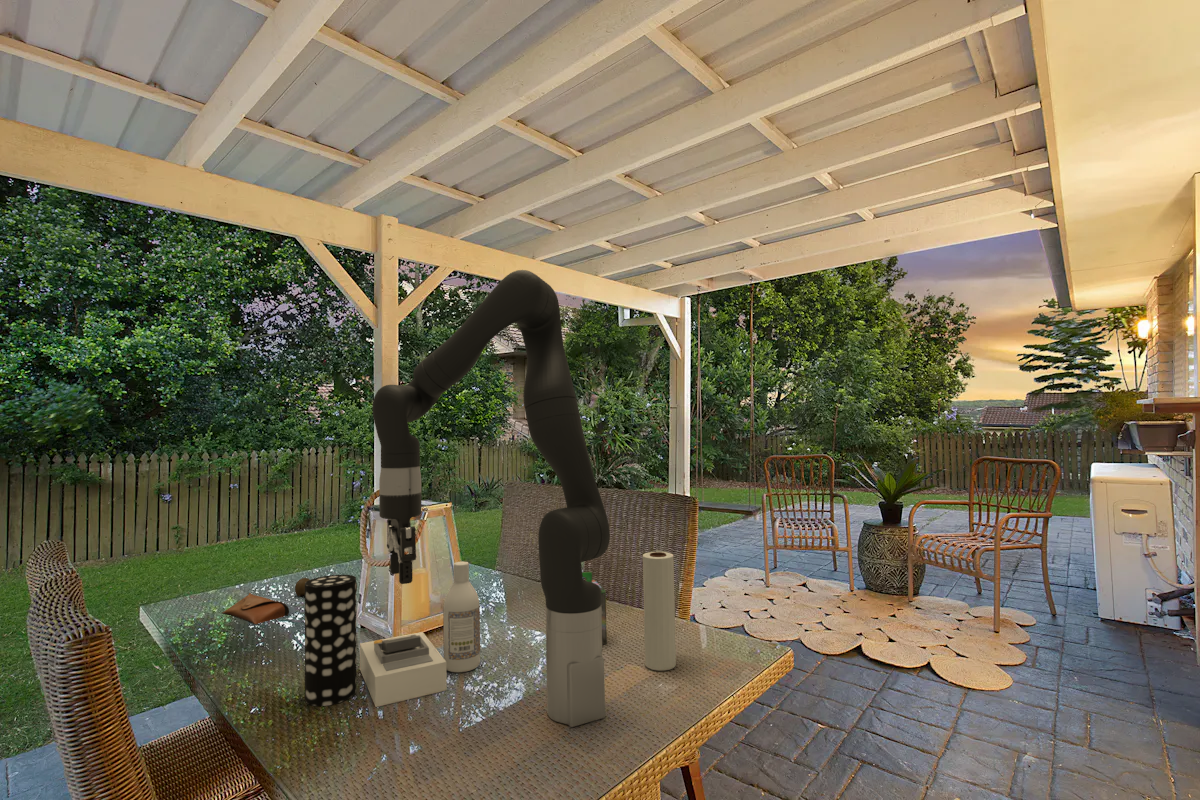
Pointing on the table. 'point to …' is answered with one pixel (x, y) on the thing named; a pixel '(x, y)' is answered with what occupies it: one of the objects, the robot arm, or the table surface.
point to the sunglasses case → (257, 609)
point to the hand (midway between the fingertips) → (401, 578)
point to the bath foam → (461, 623)
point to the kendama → (303, 587)
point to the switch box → (402, 671)
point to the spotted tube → (330, 639)
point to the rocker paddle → (401, 643)
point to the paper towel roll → (659, 610)
